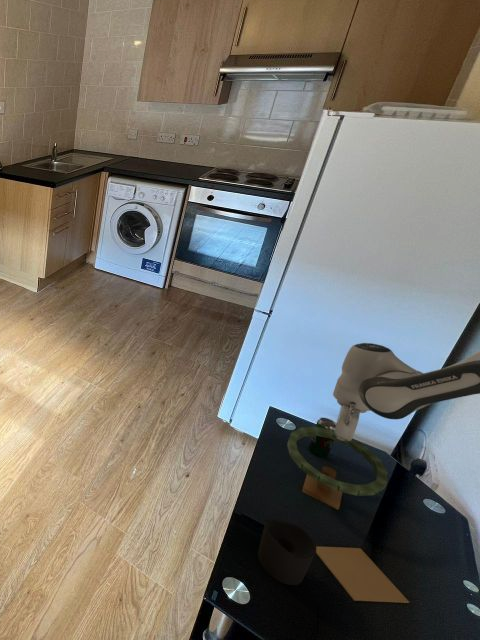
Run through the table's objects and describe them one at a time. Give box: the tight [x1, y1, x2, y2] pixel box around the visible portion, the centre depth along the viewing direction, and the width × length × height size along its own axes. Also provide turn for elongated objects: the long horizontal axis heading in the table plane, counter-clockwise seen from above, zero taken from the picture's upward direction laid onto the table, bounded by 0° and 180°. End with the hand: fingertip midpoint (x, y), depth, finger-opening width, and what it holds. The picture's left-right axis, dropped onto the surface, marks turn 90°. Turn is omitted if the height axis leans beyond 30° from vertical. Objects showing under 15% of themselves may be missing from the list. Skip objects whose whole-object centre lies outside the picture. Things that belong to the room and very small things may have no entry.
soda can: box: [308, 417, 337, 458], centre depth 129 cm, size 5×5×12 cm
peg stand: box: [301, 465, 343, 511], centre depth 115 cm, size 8×8×8 cm
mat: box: [315, 545, 410, 604], centre depth 95 cm, size 12×12×1 cm
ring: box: [286, 426, 389, 497], centre depth 113 cm, size 21×21×2 cm
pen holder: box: [257, 517, 317, 586], centre depth 94 cm, size 9×9×10 cm
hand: (340, 436), depth 118 cm, fingers closed on ring, 2 cm apart
